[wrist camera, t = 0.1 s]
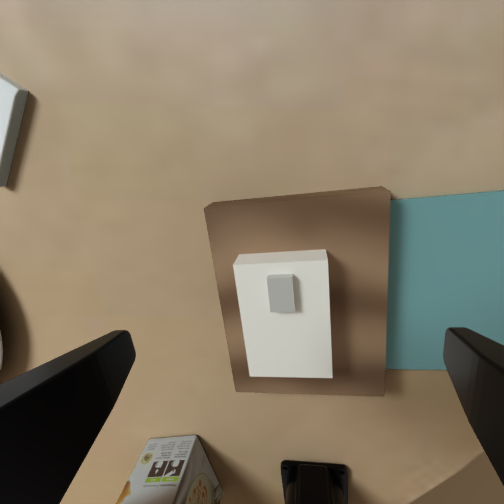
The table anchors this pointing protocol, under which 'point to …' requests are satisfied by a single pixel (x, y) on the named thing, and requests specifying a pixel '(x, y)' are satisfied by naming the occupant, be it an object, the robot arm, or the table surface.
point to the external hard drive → (9, 122)
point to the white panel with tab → (285, 313)
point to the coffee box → (172, 474)
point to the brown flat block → (339, 269)
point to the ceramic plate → (1, 351)
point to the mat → (443, 274)
